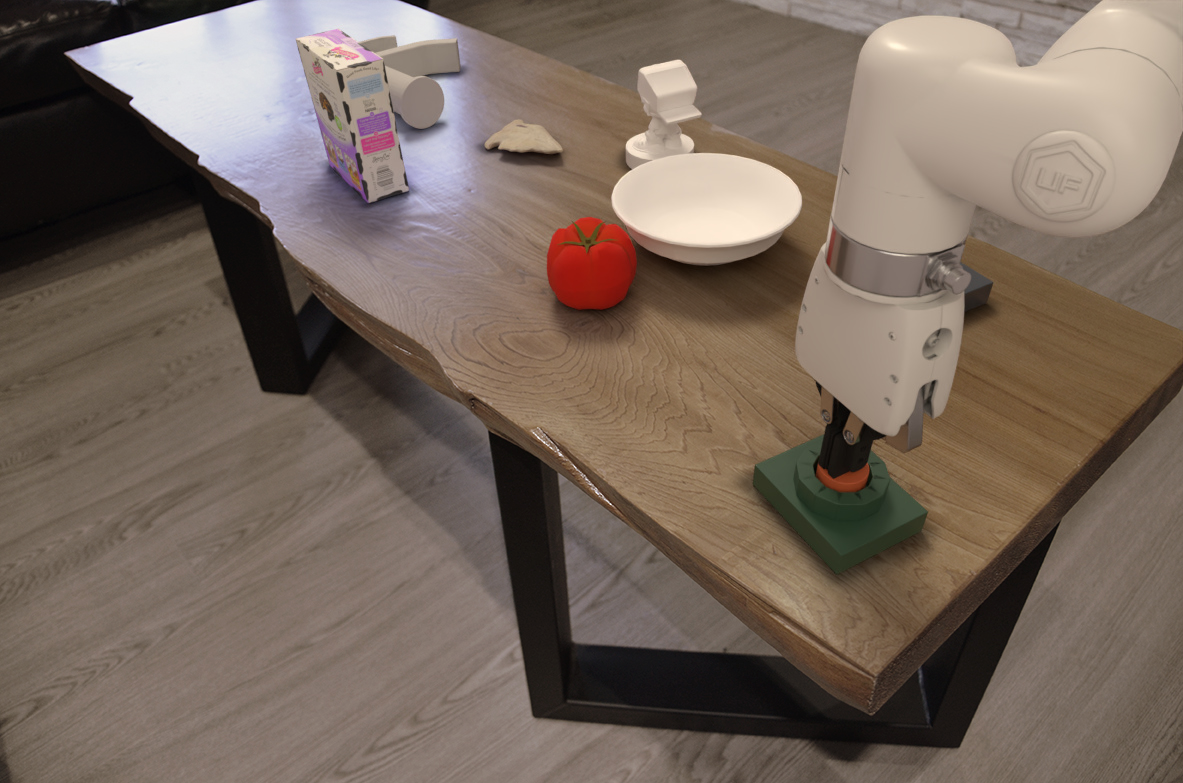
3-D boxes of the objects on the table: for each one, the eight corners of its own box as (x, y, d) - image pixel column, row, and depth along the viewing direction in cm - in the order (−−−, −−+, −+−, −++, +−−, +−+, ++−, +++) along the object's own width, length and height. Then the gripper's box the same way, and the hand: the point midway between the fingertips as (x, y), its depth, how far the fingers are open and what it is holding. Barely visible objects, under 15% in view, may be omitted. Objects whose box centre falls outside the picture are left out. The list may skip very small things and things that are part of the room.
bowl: (816, 222, 96) (824, 170, 92) (763, 318, 83) (769, 262, 78) (654, 190, 103) (655, 140, 99) (581, 274, 90) (578, 221, 85)
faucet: (397, 84, 113) (308, 45, 127) (406, 134, 117) (319, 91, 132) (515, 50, 123) (421, 18, 138) (519, 97, 127) (427, 61, 142)
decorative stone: (522, 134, 118) (517, 113, 116) (585, 145, 111) (581, 123, 109) (479, 158, 114) (474, 136, 112) (542, 172, 107) (537, 149, 105)
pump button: (875, 488, 62) (880, 472, 61) (837, 507, 61) (841, 490, 60) (842, 457, 64) (846, 441, 63) (805, 475, 63) (808, 458, 62)
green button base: (922, 531, 62) (934, 494, 60) (836, 575, 60) (845, 539, 57) (832, 447, 69) (840, 411, 66) (752, 484, 66) (756, 448, 64)
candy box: (411, 191, 105) (385, 57, 94) (367, 206, 102) (334, 70, 92) (368, 152, 114) (340, 25, 103) (327, 164, 111) (293, 36, 100)
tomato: (582, 263, 91) (579, 200, 86) (652, 288, 87) (652, 224, 82) (527, 306, 86) (520, 241, 81) (599, 335, 82) (596, 269, 77)
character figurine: (672, 139, 113) (675, 48, 105) (710, 167, 107) (716, 72, 99) (614, 154, 110) (612, 61, 102) (649, 184, 104) (650, 88, 96)
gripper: (1043, 292, 46) (958, 514, 58) (855, 180, 56) (816, 389, 68) (939, 335, 43) (873, 558, 55) (762, 210, 53) (739, 422, 65)
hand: (842, 464), depth 61 cm, fingers closed
